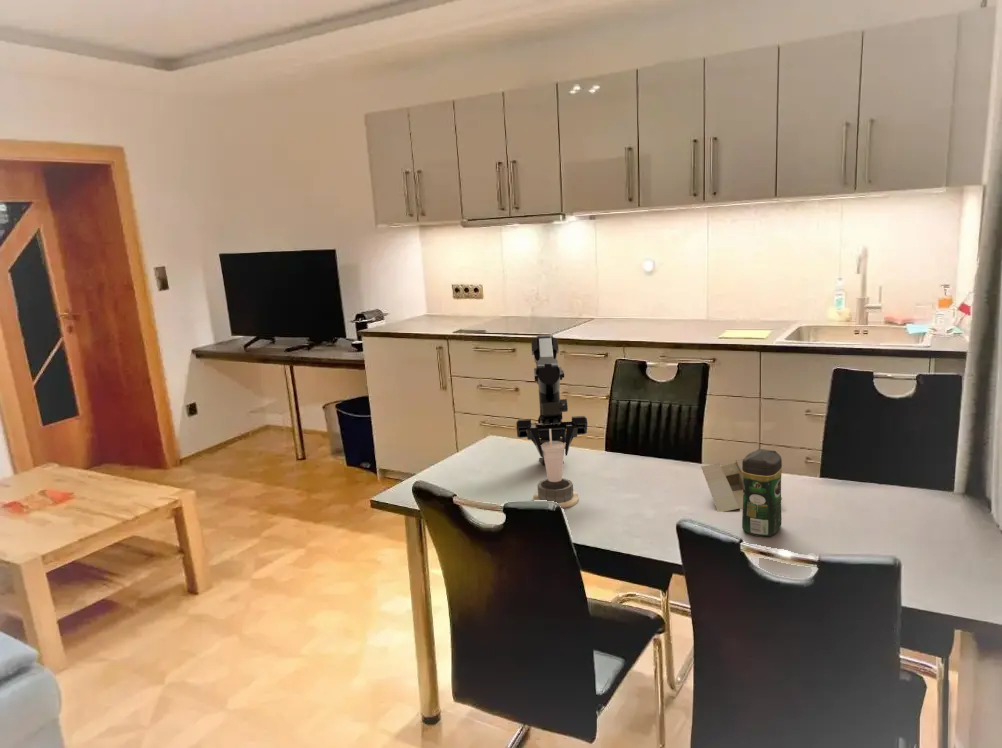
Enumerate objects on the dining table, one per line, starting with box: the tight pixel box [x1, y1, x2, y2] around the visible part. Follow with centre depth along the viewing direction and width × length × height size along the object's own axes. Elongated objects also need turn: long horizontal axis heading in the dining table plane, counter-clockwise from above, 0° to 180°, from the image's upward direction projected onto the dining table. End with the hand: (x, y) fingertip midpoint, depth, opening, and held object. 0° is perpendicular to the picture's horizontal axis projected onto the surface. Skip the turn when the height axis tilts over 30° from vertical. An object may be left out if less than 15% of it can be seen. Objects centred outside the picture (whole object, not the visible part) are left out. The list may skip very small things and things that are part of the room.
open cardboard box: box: [700, 458, 783, 513], centre depth 183 cm, size 16×9×15 cm
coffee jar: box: [741, 448, 783, 537], centre depth 163 cm, size 10×8×19 cm
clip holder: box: [532, 477, 580, 509], centre depth 189 cm, size 12×12×4 cm
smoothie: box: [541, 429, 566, 482], centre depth 187 cm, size 6×6×14 cm
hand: (553, 455), depth 185 cm, fingers closed on smoothie, 6 cm apart
